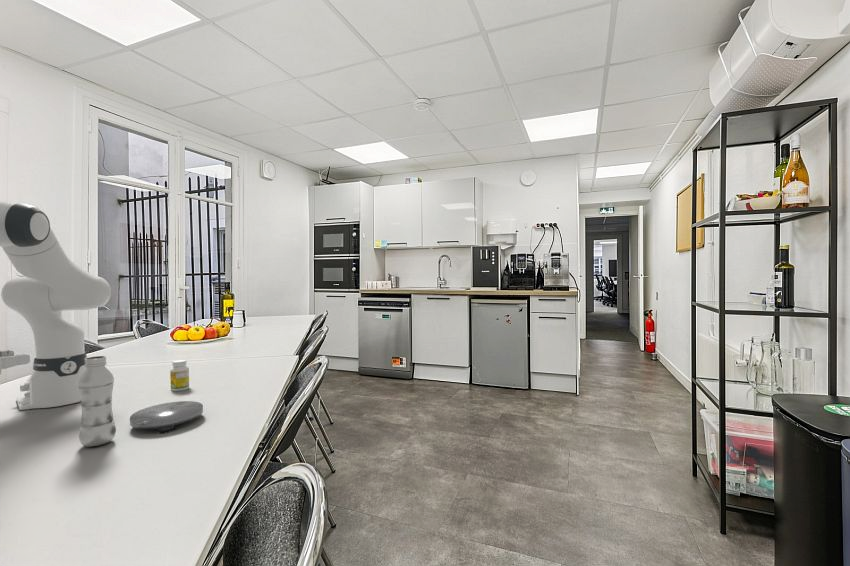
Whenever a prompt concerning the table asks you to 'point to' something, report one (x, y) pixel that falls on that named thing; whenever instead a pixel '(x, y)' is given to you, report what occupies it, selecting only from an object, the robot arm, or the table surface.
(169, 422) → the base
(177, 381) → the supplement bottle
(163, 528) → the table surface
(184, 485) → the table surface
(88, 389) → the plastic bottle
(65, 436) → the table surface
